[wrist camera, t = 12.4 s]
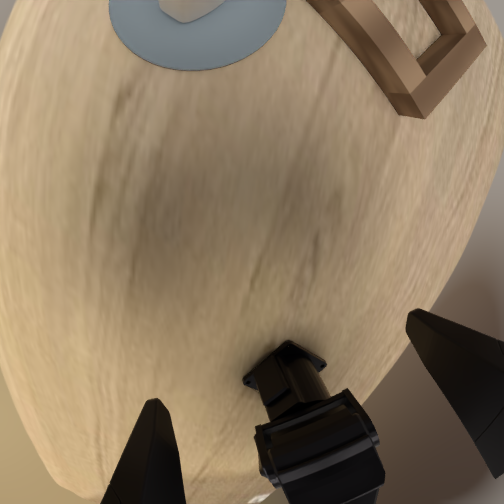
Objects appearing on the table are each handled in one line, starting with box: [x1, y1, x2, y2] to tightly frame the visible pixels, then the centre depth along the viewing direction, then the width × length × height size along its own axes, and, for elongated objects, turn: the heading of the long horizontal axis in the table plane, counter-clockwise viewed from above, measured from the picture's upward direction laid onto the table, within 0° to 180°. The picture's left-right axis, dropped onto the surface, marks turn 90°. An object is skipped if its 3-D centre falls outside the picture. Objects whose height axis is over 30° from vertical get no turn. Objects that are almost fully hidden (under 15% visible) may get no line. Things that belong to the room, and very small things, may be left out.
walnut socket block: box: [306, 0, 487, 119], centre depth 15 cm, size 12×12×3 cm
